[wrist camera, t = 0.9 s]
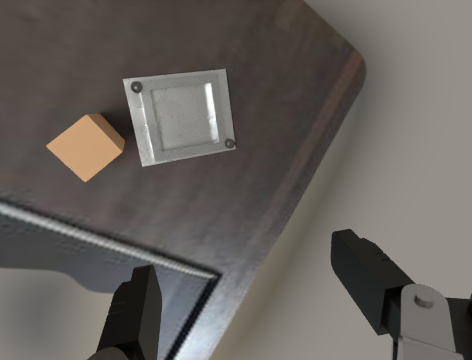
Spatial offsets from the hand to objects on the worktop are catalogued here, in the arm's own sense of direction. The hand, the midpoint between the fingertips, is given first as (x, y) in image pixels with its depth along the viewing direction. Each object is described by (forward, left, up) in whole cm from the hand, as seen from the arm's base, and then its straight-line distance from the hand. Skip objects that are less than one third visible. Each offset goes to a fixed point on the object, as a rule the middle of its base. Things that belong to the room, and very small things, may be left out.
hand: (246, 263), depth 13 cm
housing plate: (+2, +6, -26) cm, 26 cm away
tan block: (-8, +5, -26) cm, 27 cm away
